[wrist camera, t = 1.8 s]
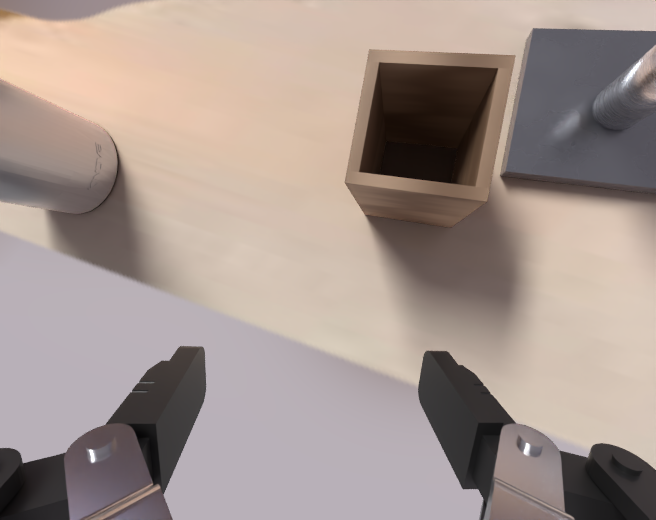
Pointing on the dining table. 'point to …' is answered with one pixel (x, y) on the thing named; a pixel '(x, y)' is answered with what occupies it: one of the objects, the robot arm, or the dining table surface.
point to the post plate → (585, 110)
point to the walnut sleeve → (428, 131)
